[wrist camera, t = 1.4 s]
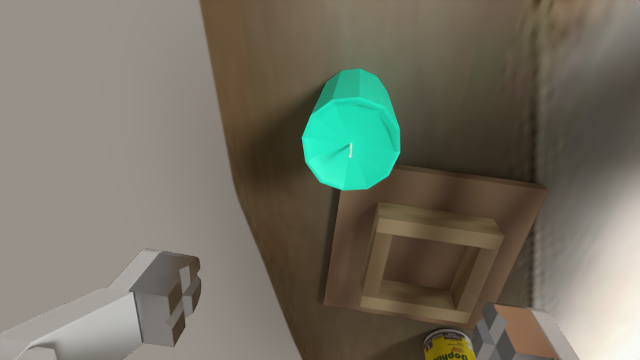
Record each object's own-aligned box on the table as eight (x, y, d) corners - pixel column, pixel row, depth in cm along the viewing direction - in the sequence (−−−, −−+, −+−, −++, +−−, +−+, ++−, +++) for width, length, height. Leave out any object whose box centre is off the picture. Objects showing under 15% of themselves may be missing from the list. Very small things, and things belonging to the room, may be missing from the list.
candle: (358, 149, 31) (356, 220, 21) (305, 109, 30) (276, 162, 20) (403, 98, 29) (428, 149, 18) (348, 52, 28) (341, 78, 17)
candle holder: (542, 184, 31) (565, 206, 28) (479, 322, 39) (491, 353, 36) (345, 156, 32) (343, 175, 28) (324, 297, 40) (320, 325, 36)
